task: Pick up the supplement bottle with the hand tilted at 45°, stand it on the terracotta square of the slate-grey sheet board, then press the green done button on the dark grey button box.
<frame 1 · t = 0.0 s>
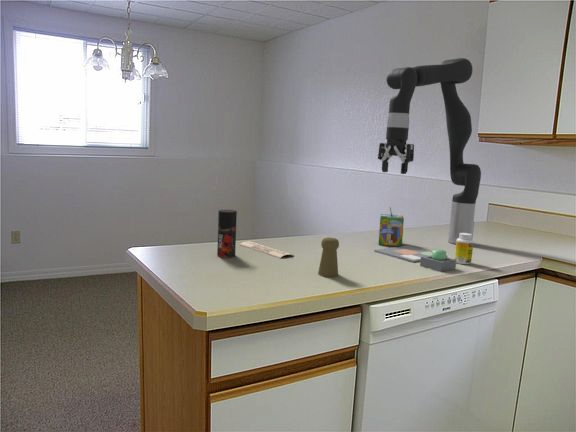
hand: (393, 173, 168), 29 cm above the counter, tool pointing down, fingers open, 8 cm apart
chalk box: (389, 244, 190), on the counter
sheet board: (410, 254, 173), on the counter
deodorant: (226, 256, 157), on the counter
supplement bottle: (462, 263, 164), on the counter
button housing: (437, 267, 155), on the counter
cork: (328, 275, 140), on the counter
newspaper: (264, 253, 167), on the counter
done button: (438, 256, 155), point 4 cm above the counter, slide at 0.0 cm
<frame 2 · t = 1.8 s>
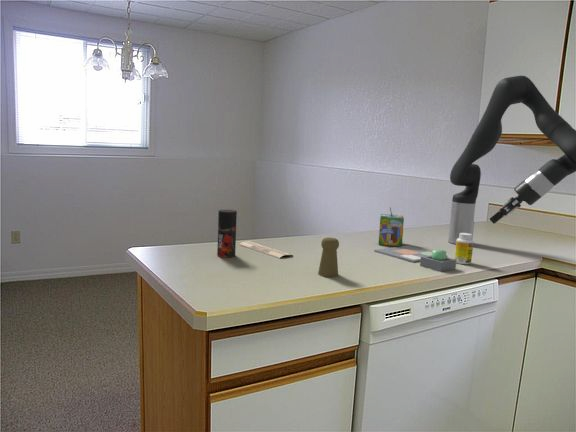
hand: (492, 220, 158), 16 cm above the counter, tool tilted 40°, fingers open, 8 cm apart
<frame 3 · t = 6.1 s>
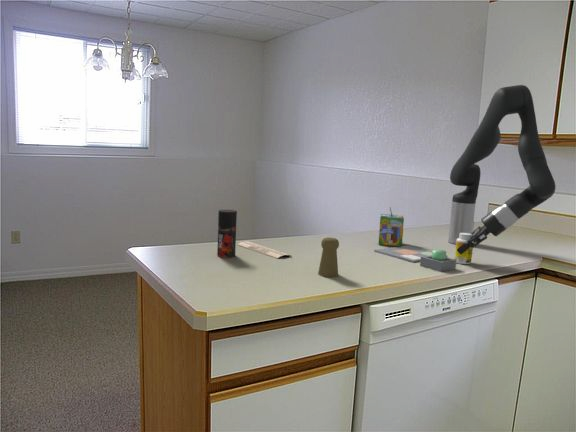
hand: (458, 250, 163), 4 cm above the counter, tool tilted 45°, fingers closed on supplement bottle, 5 cm apart
supplement bottle: (462, 263, 164), on the counter, touching gripper
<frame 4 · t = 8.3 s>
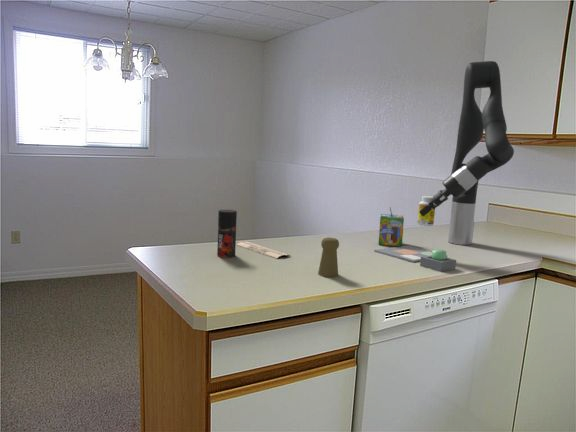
hand: (421, 212, 168), 16 cm above the counter, tool tilted 45°, fingers closed on supplement bottle, 5 cm apart
supplement bottle: (425, 225, 169), point 11 cm above the counter, touching gripper
when the fingers open (6 cm above the counter, at t = 11.0 s): supplement bottle drops 1 cm, resting on sheet board.
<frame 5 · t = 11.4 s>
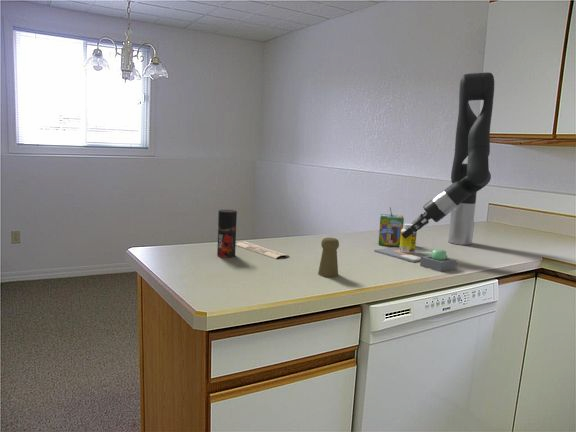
hand: (404, 234, 172), 7 cm above the counter, tool tilted 45°, fingers open, 8 cm apart
supplement bottle: (406, 252, 173), point 1 cm above the counter, touching sheet board
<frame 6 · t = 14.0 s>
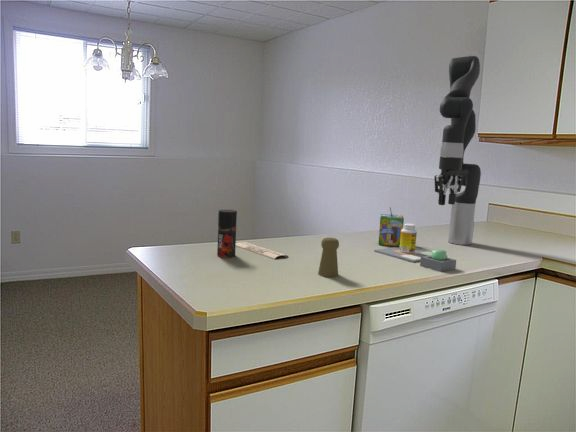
hand: (446, 204, 166), 19 cm above the counter, tool pointing down, fingers open, 5 cm apart
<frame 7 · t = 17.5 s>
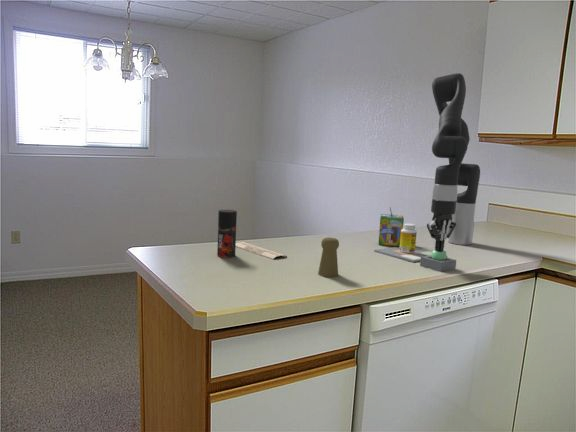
hand: (439, 251, 154), 5 cm above the counter, tool pointing down, fingers closed
done button: (438, 257, 155), point 3 cm above the counter, slide at -0.1 cm, touching gripper
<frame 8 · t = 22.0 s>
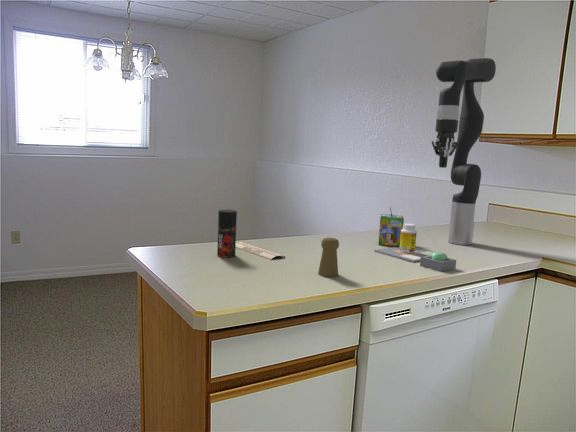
hand: (442, 167, 172), 32 cm above the counter, tool pointing down, fingers closed
done button: (438, 259, 155), point 3 cm above the counter, slide at -0.9 cm
at the end: supplement bottle inside the target area (0.3 cm from its centre), point 0.5 cm above the counter; supplement bottle tilted 0°; done button slide at -0.9 cm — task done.
